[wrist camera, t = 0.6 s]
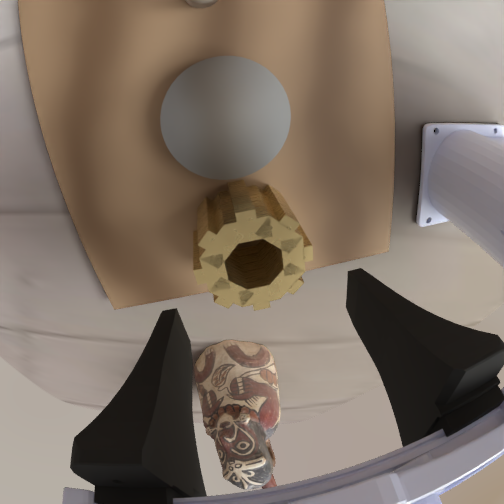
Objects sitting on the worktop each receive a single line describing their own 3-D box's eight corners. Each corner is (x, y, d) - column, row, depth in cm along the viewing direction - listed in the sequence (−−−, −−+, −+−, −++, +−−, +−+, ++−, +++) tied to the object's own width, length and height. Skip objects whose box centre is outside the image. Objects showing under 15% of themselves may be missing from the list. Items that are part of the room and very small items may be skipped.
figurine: (254, 327, 25) (287, 466, 15) (284, 369, 29) (316, 483, 19) (179, 357, 26) (184, 489, 16) (219, 394, 30) (234, 503, 20)
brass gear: (287, 171, 17) (309, 198, 14) (295, 257, 21) (314, 297, 17) (182, 192, 17) (179, 225, 14) (206, 276, 20) (209, 319, 17)
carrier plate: (360, -61, 11) (399, -82, 7) (381, 242, 23) (412, 279, 19) (26, -3, 10) (-14, -14, 6) (117, 298, 22) (106, 345, 18)
